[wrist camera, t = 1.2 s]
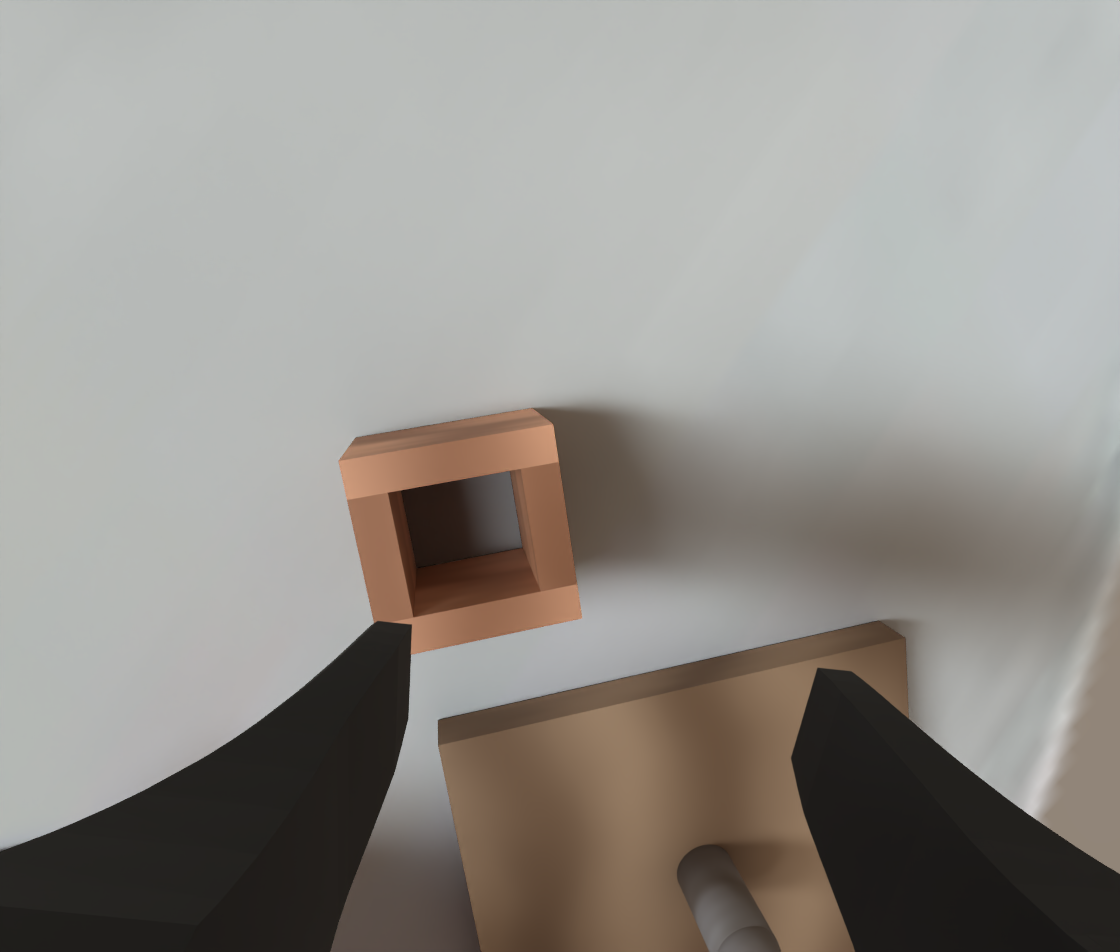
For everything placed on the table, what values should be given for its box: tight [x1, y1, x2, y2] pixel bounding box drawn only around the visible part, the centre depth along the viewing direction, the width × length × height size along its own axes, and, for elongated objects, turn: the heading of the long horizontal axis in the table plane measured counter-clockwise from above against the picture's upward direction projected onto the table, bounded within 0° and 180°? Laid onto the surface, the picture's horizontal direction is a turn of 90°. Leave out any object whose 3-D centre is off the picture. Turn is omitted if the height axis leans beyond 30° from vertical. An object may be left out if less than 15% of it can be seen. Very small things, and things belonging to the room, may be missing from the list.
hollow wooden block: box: [339, 408, 582, 654], centre depth 20 cm, size 5×5×4 cm
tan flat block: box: [438, 621, 909, 952], centre depth 23 cm, size 16×14×6 cm
